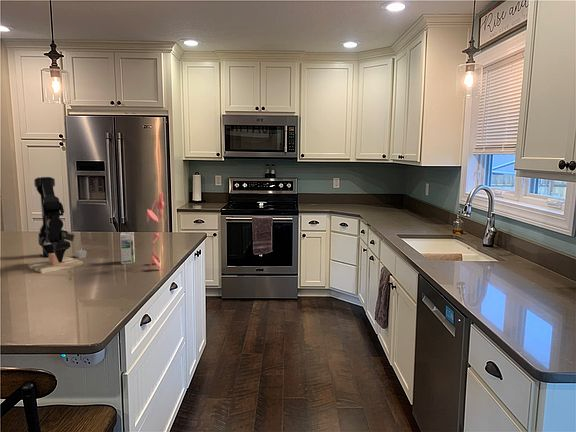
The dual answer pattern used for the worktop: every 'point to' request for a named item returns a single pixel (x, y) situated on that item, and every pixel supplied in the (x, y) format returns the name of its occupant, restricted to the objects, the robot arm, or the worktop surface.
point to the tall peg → (53, 259)
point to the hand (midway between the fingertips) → (55, 260)
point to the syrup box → (127, 248)
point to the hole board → (46, 267)
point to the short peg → (80, 253)
